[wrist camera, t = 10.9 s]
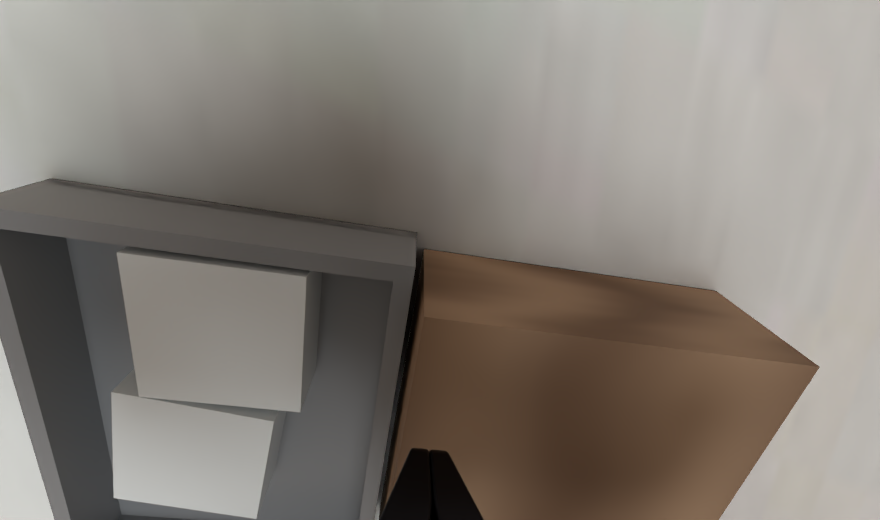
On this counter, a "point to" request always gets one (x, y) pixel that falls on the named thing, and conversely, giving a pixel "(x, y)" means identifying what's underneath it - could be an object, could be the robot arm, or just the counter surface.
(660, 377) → the brown wooden block
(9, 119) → the counter surface
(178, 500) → the tile
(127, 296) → the tile
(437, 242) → the counter surface
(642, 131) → the counter surface
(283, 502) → the tray
